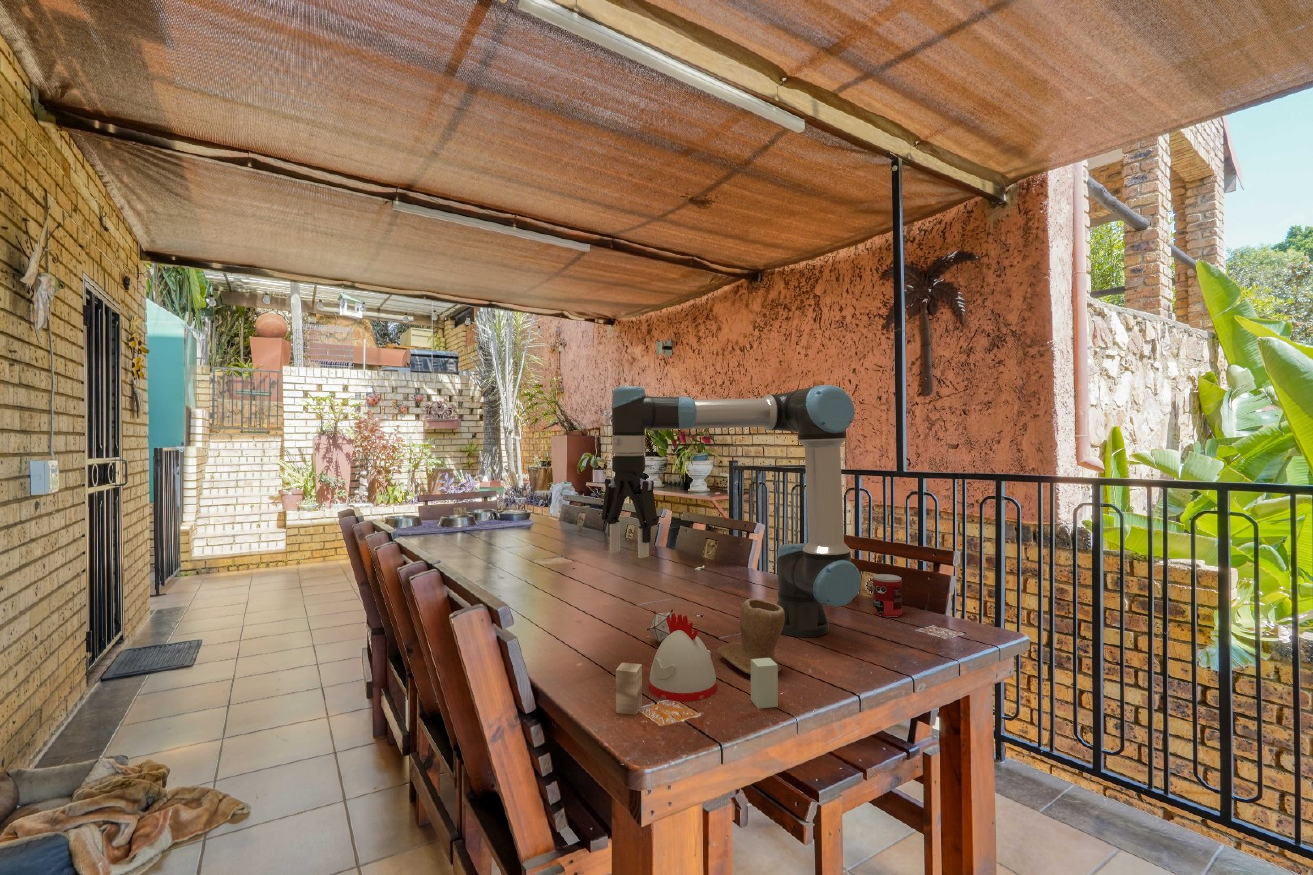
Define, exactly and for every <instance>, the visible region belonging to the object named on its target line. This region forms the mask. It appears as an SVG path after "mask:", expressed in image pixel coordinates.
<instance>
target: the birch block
mask: <svg viewBox="0 0 1313 875" xmlns="http://www.w3.org/2000/svg"><path fill="white" fill-rule="evenodd" d="M642 706H643V665H642V664H641V663H632V662H631V663H630V662H621V663H620V664H619V666H618V667H617V668H616V669H615V713H616V714H623V715H635V716H637V715H638V713H639V712H640V710H641V709H642Z"/></svg>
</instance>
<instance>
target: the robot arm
mask: <svg viewBox="0 0 1313 875" xmlns="http://www.w3.org/2000/svg"><path fill="white" fill-rule="evenodd" d="M611 398H612V401H611V408H610V409H611V424H612V425H611V428H612V429H611V430H612V431H611V432H612V433H611V435H612V437H611V439H612V440H611V442H612V445H611V447H612V448H611V451H612V453H613V454H614V455H613V456H612V457H611V470H612V472H613V473H614V478H605V480H604V484H605V485H604V486H605V490H604V498H603V504H602V505H603V506H602V511H601V520H602V521H605V522H606V523H607V528H608V529H607V536H608V538H609V553H610V554H611V553H612V554H613V553H619V552H621V523H620V516H621V512H622V509H623V508H624V507H623V506H624V503H625V501H626V499H627V498H629V500H631V501H632V505H633V507H634V510H635V514H636V516H637V520H638V522H639V526H638V527H637V558H638V559H643V558H648V557H650V542H651V541H652V538H651V537H652V536H651V535H652V534H651V533H652V532H651V531H652V530H651V528H652V527H654V526H657V525H658V524H659V520H658V514H657V506H656V501H655V492H654V489H655V488H654V487H655V482H654V480H646V479H645V478H644V475H643V474H644V472H645V471H646V457H645V456H644V455H643V454H645V453H646V430H648V431H655V432H656V431H659V430H660V431H666V430H667V431H669V430H688V429H689V430H690V429H691V430H693V429H694V430H695V429H696V430H697V429H725V428H726V429H729V428H731V429H732V428H761V427H762V428H764V430H766V431H784V432H791V433H792V432H793V433H797V441H798V443H800V445H802V446H803V448H804V461H805V462H804V464H805V468H804V469H805V486H806V487H805V489H806V490H805V491H806V511H807V512H806V514H807V517H806V519H807V540H808V542H806V543H805V542H804V543H803V542H802V543H785V544H781V545H779V547H778V549H777V556H776V560H777V600H776V603H775V604H777V605H779V606H781V607H782V608H783V609H784V612H785V623H784V626H783V630H782V632H781V635H785V636H790V637H796V638H815V637H820V636H821V635H822V636H824V634H825V633H827V634H828V633H829V631H830V630H829V629H830V627H829V625H830V622H829V619H828V616H827V612H826V610H825V607H824V605H826V606H829V607H834V608H835V607H836V608H840V607H843V606H846V605H847V604H850V603H851V602H852V601H853V599H854V598H855V597H856V596H857V595H858V594H859V591H860V589H861V585H862V576H861V572H860V571H859V568H857V566H856V565H855V563H853V562H852V553H851V551H852V550H851V548H850V546H848V545H847V544H846V543H845V538H844V537H845V536H844V532H845V531H844V514H843V513H844V512H843V511H844V508H843V506H844V505H843V484H842V483H843V482H842V481H843V480H842V461H841V459H842V458H841V446H842V444H844V442H845V441H846V440H847V429H848V428H849V427H850V426H851V424H852V423H853V422H854V418H855V414H856V413H855V404H854V402H853V400H852V398H851V396H850V395H849V393H848V392H846V391H845V390H844V389H843V388H841V387H839V386H836V385H831V384H828V385H827V384H826V385H825V384H821V385H815V386H812V387H811V386H810V387H805V388H800V389H799V388H798V389H795V390H792V391H791V390H790V391H787V392H783V393H782V392H781V393H776V394H771V393H770V394H766V395H764V396H763V397H762V398H759V397H757V398H719V399H718V398H717V399H716V398H715V399H714V398H713V399H693V398H692V397H689V396H682V395H681V396H649V395H647V394H646V389H645V388H644V387H642V386H631V385H630V386H618V387H615V388H614V389H613V391H612V397H611ZM825 635H826V634H825Z"/></svg>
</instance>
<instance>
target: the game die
mask: <svg viewBox="0 0 1313 875" xmlns="http://www.w3.org/2000/svg"><path fill="white" fill-rule="evenodd" d="M673 613H674V609H673V608H672V609H670V611H668V612H667V611H665V612H658V613H657V612H656V610H653V614H654V616H653V618H652V621H651V624H650V627H649V628H647V629H646V631H650V632H651V633H652V635H653V636H654V639H655V640H656V641H657V643H656V646H657V647H658V646H660V644H661V643H662V642H663V640H664V639H665V638H666V637H667V636H668V635H669V634H671V633H670V630H669V627H668V624H667V620H666V618H670V619H671V614H673ZM676 620H677V618H676Z"/></svg>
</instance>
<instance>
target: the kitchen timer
mask: <svg viewBox="0 0 1313 875" xmlns="http://www.w3.org/2000/svg"><path fill="white" fill-rule="evenodd" d="M672 613H673V614H671V619H670V618H666V620H667V624H668V627H669V630H670V633H671V634H669V635H668V636H667V637H666V638H665V639H664V640H663V642H660V644H659V645H658V646H659V647H658V648H657V651H656V652H655V655H654V658H653V660H652V665H651V668H650V672H649V678H648V680H649V682H648V683H649V691H650V692H651V693H653V695H654V696H657V697H658V698H661V699H664V700H668V701H674V702H693V701H699V700H704V699H706V698H709V697H711V696H712V695H713V694H714V693H715V692H716V690H717V675H716V670H715V667H714V663H713V660H712V656H711V655H712V654H711V650H710V649H707V647H706V645H705V643H704V642H703V640H702V639H700V637H699V636H698V633H699V629H695V630H694V631H693V625H694V622H689V621H688V615H682V613H680V614H678V615H677V616H676V613H674V612H672ZM682 616H683V617H682ZM676 619H677V620H676ZM688 622H689V623H688Z"/></svg>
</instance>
